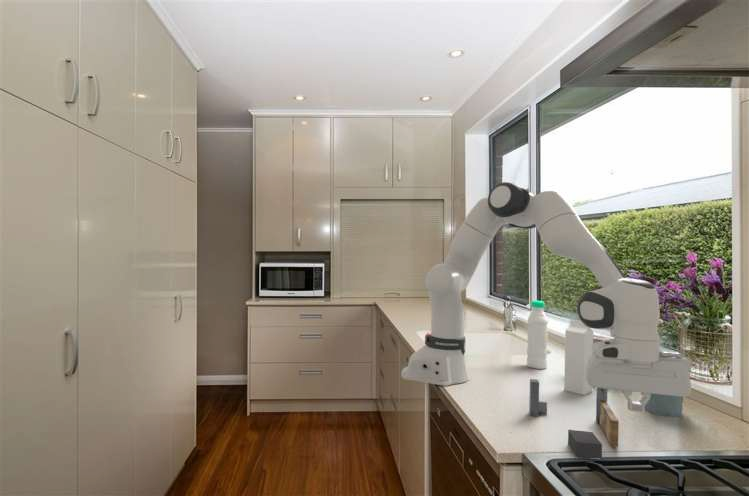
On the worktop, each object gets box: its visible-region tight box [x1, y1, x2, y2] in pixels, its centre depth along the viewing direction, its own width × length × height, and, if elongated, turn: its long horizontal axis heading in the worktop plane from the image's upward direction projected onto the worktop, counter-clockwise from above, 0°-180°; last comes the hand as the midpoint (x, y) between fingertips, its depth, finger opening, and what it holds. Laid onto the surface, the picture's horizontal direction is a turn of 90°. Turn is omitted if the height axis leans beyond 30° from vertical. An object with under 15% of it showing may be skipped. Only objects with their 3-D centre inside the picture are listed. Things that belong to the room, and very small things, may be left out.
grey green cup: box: [645, 393, 684, 418], centre depth 113 cm, size 10×10×12 cm
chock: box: [567, 429, 603, 460], centre depth 88 cm, size 5×6×4 cm
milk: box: [563, 319, 594, 396], centre depth 128 cm, size 6×6×22 cm
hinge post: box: [595, 388, 608, 424], centre depth 104 cm, size 2×2×9 cm
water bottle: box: [526, 300, 549, 370], centre depth 155 cm, size 7×7×25 cm
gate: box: [599, 400, 620, 448], centre depth 96 cm, size 13×1×6 cm, turn 161°
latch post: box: [528, 378, 548, 418], centre depth 108 cm, size 4×3×9 cm
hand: (636, 410), depth 93 cm, fingers closed
